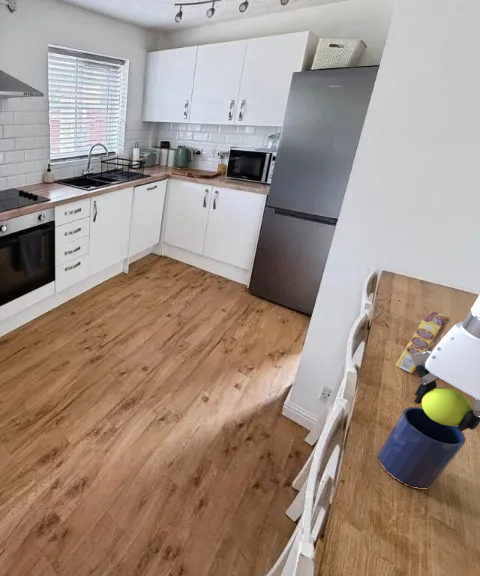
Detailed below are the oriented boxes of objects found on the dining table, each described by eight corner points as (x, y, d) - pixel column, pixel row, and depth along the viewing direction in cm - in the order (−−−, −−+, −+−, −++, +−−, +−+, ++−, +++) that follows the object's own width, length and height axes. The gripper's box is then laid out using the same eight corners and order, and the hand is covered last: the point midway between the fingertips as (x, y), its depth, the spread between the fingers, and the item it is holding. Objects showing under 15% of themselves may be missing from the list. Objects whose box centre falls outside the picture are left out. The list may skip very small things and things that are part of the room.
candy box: (413, 375, 98) (441, 327, 90) (394, 366, 101) (420, 319, 94) (425, 363, 102) (452, 317, 95) (407, 355, 105) (432, 310, 98)
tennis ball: (469, 427, 64) (488, 400, 61) (447, 438, 62) (467, 411, 59) (428, 402, 69) (444, 376, 66) (407, 411, 67) (423, 384, 64)
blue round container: (443, 480, 70) (476, 437, 64) (415, 497, 67) (447, 452, 61) (395, 444, 77) (421, 402, 71) (367, 457, 74) (392, 414, 68)
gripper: (589, 357, 51) (515, 446, 59) (446, 299, 65) (402, 378, 73) (564, 369, 48) (490, 460, 57) (420, 306, 62) (378, 387, 71)
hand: (441, 413), depth 65 cm, fingers closed on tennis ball, 5 cm apart
